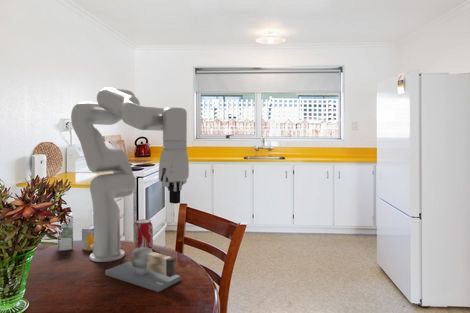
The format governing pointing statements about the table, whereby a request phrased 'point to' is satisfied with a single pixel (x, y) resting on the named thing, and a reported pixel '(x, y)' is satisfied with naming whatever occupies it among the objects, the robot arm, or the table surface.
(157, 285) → the mount plate
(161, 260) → the lever handle
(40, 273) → the table surface
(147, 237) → the soda can
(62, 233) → the syrup box
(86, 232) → the medicine box
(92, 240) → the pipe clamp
